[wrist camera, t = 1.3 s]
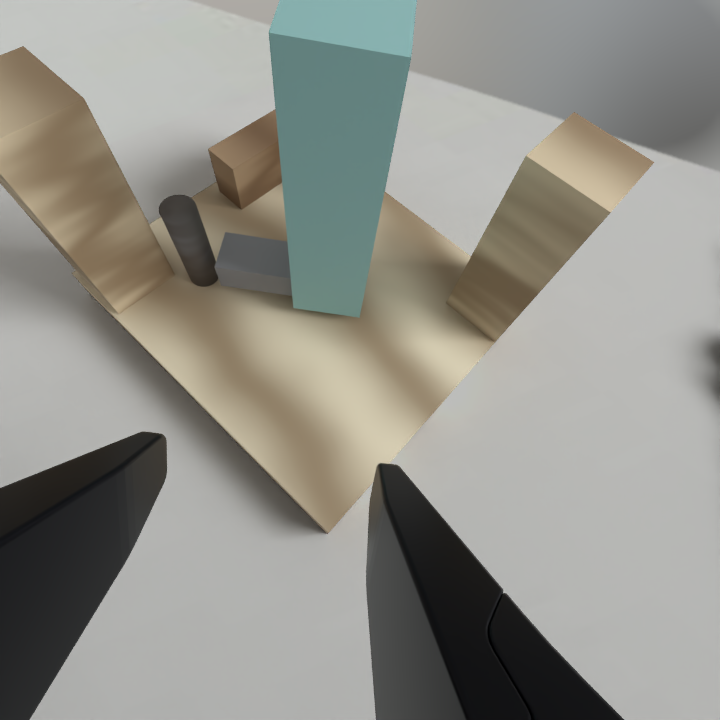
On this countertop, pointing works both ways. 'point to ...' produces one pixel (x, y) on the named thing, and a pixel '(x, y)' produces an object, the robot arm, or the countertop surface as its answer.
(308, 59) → the folding leg
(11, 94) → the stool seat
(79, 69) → the countertop surface
